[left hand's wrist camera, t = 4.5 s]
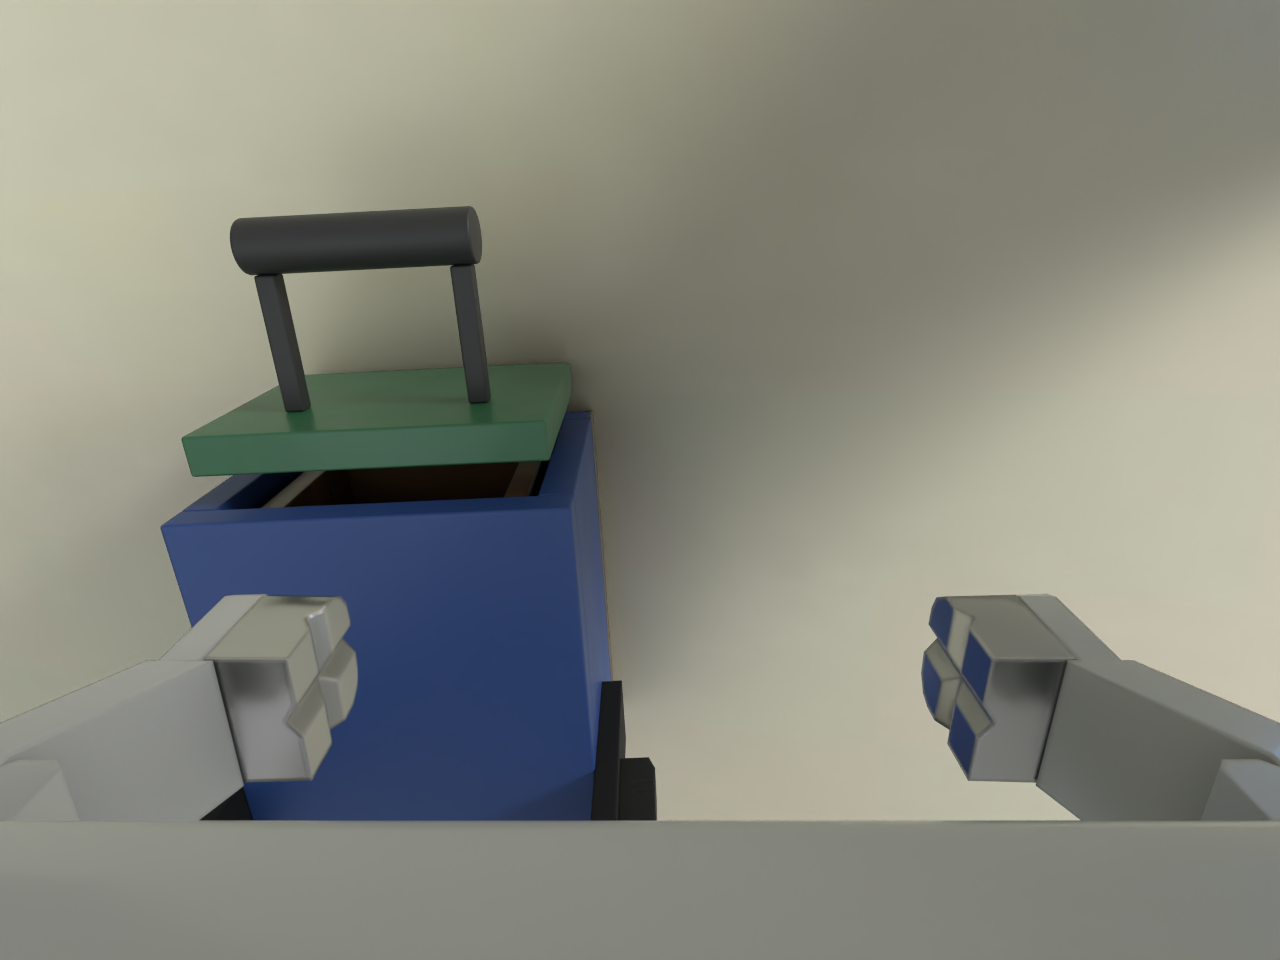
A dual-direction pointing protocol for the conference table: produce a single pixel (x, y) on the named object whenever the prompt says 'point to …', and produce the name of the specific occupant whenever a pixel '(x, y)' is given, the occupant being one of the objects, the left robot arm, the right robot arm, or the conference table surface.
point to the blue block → (433, 638)
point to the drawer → (383, 380)
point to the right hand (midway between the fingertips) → (455, 716)
